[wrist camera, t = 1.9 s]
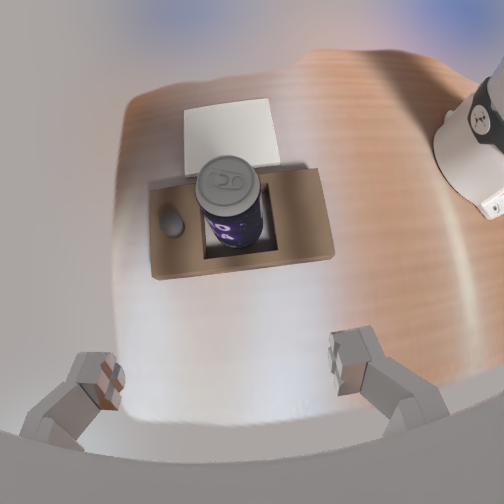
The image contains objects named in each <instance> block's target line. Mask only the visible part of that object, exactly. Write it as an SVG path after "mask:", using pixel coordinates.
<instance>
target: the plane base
mask: <svg viewBox="0 0 504 504" xmlns="http://www.w3.org/2000/svg"><path fill="white" fill-rule="evenodd" d="M258 175H259V178H260V182H261V193H262V192H268V193H269V200H270V206H271V213H272V220H273V227H274V233H275V240H276V247H277V250H276V251H268V252H260V253H252V254H244V255H236V256H228V257H220V258H212V259H207V248H206V235H205V222H204V213H203V211H202V209H201V207H200V206H199V204H198V202H197V199H196V196H195V185H196V183H194V184H188V185H182V186H176V187H170V188H164V189H159V190H153V191H150V245H151V272H152V277H153V278H155V279H157V280H167V279H176V278H185V277H193V276H202V275H210V274H219V273H227V272H235V271H243V270H251V269H259V268H267V267H275V266H283V265H291V264H298V263H306V262H313V261H321V260H328V259H331V258H332V257H333V256H334V255H335V250H334V245H333V239H332V234H331V229H330V224H329V219H328V214H327V209H326V204H325V199H324V195H323V190H322V186H321V181H320V177H319V173H318V168H314V169H303V170H293V171H284V172H274V173H266V174H258Z"/></svg>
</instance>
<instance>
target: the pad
mask: <svg viewBox="0 0 504 504" xmlns="http://www.w3.org/2000/svg"><path fill="white" fill-rule="evenodd" d="M223 155H233V156H237V157H240V158H242V159H244V160H245V161H247V162H248V163H249V164H250V165H251V166H252V167H253V168H260V167H268V166H277V165H280V157H279V152H278V146H277V141H276V136H275V131H274V126H273V121H272V116H271V111H270V106H269V101H268V98H263V99H254V100H245V101H237V102H230V103H223V104H216V105H210V106H204V107H198V108H193V109H187V110H184V166H185V177H186V178H190V177H196V176H198V174H199V172H200V170H201V168H202V167H203V166H204V165H205V164H206V163H207V162H208V161H210V160H212V159H213V158H216V157H218V156H223Z"/></svg>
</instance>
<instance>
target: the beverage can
mask: <svg viewBox="0 0 504 504" xmlns="http://www.w3.org/2000/svg"><path fill="white" fill-rule="evenodd" d="M195 196H196V199H197V202H198V204H199V206H200V207H201V209H202V211H203V213H204V215H205V217H206V219H207V220H208V222H209V224H210V226H211V228H212V229H213V231H214V233H215V235H216V237H217V238H218V240H219V241H220V242H221V243H223V244H224V245H226V246H228V247H231V248H244V247H247V246H249V245H251V244H253V243H254V242H255V241H256V240H257V239H258V238H259V236H260V235H261V232H262V229H263V213H262V195H261V182H260V178H259V175H258V174H257V172H256V170H255V169H254V168H253V167H252V166H251V165H250V164H249V163H248V162H247V161H245V160H244V159H242V158H240V157H237V156H233V155H223V156H218V157H216V158H213V159H212V160H210V161H208V162H207V163H206V164H205V165H204V166H203V167H202V168H201V170H200V172H199V174H198V176H197V181H196V185H195Z"/></svg>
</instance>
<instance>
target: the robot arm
mask: <svg viewBox="0 0 504 504" xmlns="http://www.w3.org/2000/svg"><path fill="white" fill-rule="evenodd" d="M434 153H435V157H436V160H437V163H438V165H439V167H440V169H441V171H442V173H443V175H444V176H445V178H446V179H447V180H448V182H449V183H450V184H451V186H452V187H453V188H454V189H455V190H456V191H457V192H458V193H459V194H460V195H462V196H463V197H464V198H466V199H467V200H469V201H470V202H472V203H473V204H474V205H476V206H477V208H478V209H479V210H480V212H481V213H482V214H483V215H484V216H485V217H486V218H487V219H488V220H492V219H494V218H496V217H498V216H501V215H503V214H504V57H503V59H502V61H501V63H500V64H499V66H498V67H497V69H496V70H495V72H494V74H493V75H492V76H491V77H488V78H486V79H485V81H484V82H483V83H482V84H480V86H479V87H478V90H477V91H476V92H475V93H471V94H470V95H469V96H468V97H467V98H466V99H465V100H464V101H463V102H462V103H461V104H460V105H459V106H458V108H457V109H456V110H455V111H453V110H449V111H448V112H447V113H446V114H445V118H444V124H443V125H442V126H441V127H440V128H439V129H438V130H437V132H436V134H435V136H434ZM493 208H494V209H493ZM329 342H330V345H331V346H330V347H329V348H328V359H329V366H330V370H331V373H333V374H334V375H335V376H334V385H335V388H336V392H337V395H338V396H343V395H348V394H354V393H359V392H360V394H361V395H362V396H363V397H365V398H366V399H367V400H368V401H369V402H370V403H371V404H372V405H373V406H375V407H376V408H377V409H378V410H379V411H380V412H381V413H382V414H384V415H385V416H386V417H387V418H388V419H389V420H390V422H389V424H388V426H387V427H386V429H385V431H384V433H383V438H381V439H377V440H373V441H370V442H365V443H361V444H357V445H353V446H348V447H344V448H339V449H334V450H329V451H323V452H318V453H312V454H305V455H299V456H291V457H283V458H276V459H266V460H253V461H237V462H206V463H204V462H166V461H150V460H139V459H128V458H120V457H113V456H106V455H99V454H93V453H87V452H84V451H85V450H84V448H83V446H81V445H80V444H79V443H78V442H77V441H76V440H77V439H78V438H79V436H80V435H81V434H82V433H83V431H84V430H85V429H86V428H87V427H88V425H89V424H90V423H91V422H92V420H93V419H94V418H95V417H96V416H97V415H98V413H99V412H100V410H116V411H118V409H119V405H120V401H121V395H120V393H119V392H120V391H121V390H122V389H124V385H125V374H124V370H123V369H122V367H121V366H120V365H119V364H117V363H116V357H115V356H114V354H113V353H106V352H105V353H103V352H79V353H78V354H77V355H76V358H75V360H74V362H73V365H72V367H71V370H70V372H69V374H68V377H67V379H66V382H62V383H61V384H60V385H59V386H57V387H56V388H55V389H54V390H53V391H52V392H51V393H49V394H48V395H47V396H46V397H45V398H44V399H42V400H41V401H40V402H39V403H38V404H37V405H36V406H34V407H33V408H32V409H31V410H30V411H29V412H28V413H27V416H26V418H25V421H24V424H23V426H22V429H21V431H20V434H19V436H18V435H14V434H11V433H8V432H5V431H2V430H0V504H504V390H503V391H502V392H500V393H498V394H496V395H494V396H492V397H490V398H488V399H486V400H483V401H481V402H479V403H477V404H475V405H473V406H470V407H468V408H466V409H464V410H461V411H459V412H456V413H454V414H452V415H450V413H449V411H448V410H447V407H446V405H445V403H444V401H443V398H442V396H441V394H440V392H439V390H438V388H437V387H436V386H434V385H432V384H431V383H429V382H428V381H426V380H425V379H423V378H421V377H420V376H418V375H417V374H415V373H414V372H412V371H411V370H409V369H407V368H406V367H404V366H403V365H401V364H400V363H398V362H397V361H395V360H393V359H392V358H390V357H388V358H386V356H385V354H384V352H383V350H382V348H381V345H380V343H379V341H378V339H377V337H376V334H375V332H374V330H373V328H372V327H371V326H370V325H369V326H364V327H359V328H353V329H348V330H343V331H338V332H332V333H330V335H329Z"/></svg>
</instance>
